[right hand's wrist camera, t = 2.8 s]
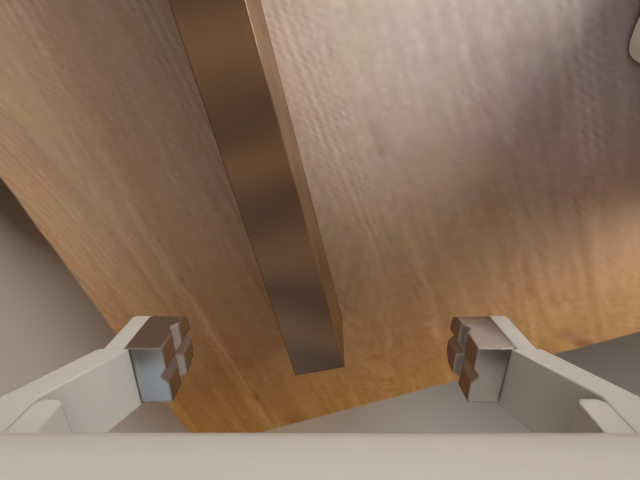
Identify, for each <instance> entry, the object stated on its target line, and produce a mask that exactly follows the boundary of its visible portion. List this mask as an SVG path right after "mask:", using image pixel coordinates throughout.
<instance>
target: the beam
mask: <svg viewBox="0 0 640 480" xmlns="http://www.w3.org/2000/svg"><path fill="white" fill-rule="evenodd" d="M169 3H170V6H171V9H172V12H173V15H174V18H175V21H176V24H177V27H178V30H179V33H180V36H181V39H182V42H183V45H184V48H185V51H186V54H187V56H188V59H189V62H190V65H191V68H192V71H193V74H194V77H195V80H196V83H197V86H198V89H199V92H200V95H201V98H202V101H203V104H204V107H205V110H206V113H207V115H208V118H209V121H210V124H211V127H212V130H213V133H214V136H215V139H216V142H217V145H218V148H219V151H220V154H221V157H222V160H223V163H224V166H225V169H226V171H227V174H228V177H229V180H230V183H231V186H232V189H233V192H234V195H235V198H236V201H237V204H238V207H239V210H240V213H241V216H242V219H243V222H244V225H245V228H246V230H247V233H248V236H249V239H250V242H251V245H252V248H253V251H254V254H255V257H256V260H257V263H258V266H259V269H260V272H261V275H262V278H263V281H264V284H265V287H266V289H267V292H268V295H269V298H270V301H271V304H272V307H273V310H274V313H275V316H276V319H277V322H278V325H279V328H280V331H281V334H282V337H283V340H284V343H285V346H286V348H287V351H288V354H289V357H290V360H291V363H292V366H293V369H294V372H295V375H300V374H306V373H312V372H318V371H324V370H329V369H335V368H341V367H344V366H345V364H344V346H343V328H342V316H341V312H340V308H339V304H338V300H337V296H336V293H335V289H334V285H333V281H332V277H331V273H330V269H329V265H328V261H327V258H326V254H325V250H324V246H323V242H322V238H321V234H320V230H319V226H318V223H317V219H316V215H315V211H314V207H313V203H312V199H311V195H310V191H309V188H308V184H307V180H306V176H305V172H304V168H303V164H302V160H301V156H300V153H299V149H298V145H297V141H296V137H295V133H294V129H293V125H292V121H291V118H290V114H289V110H288V106H287V102H286V98H285V94H284V90H283V86H282V83H281V79H280V75H279V71H278V67H277V63H276V59H275V55H274V51H273V48H272V44H271V40H270V36H269V32H268V28H267V24H266V20H265V16H264V13H263V9H262V5H261V1H260V0H169Z"/></svg>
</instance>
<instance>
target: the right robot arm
mask: <svg viewBox="0 0 640 480" xmlns="http://www.w3.org/2000/svg"><path fill="white" fill-rule="evenodd" d="M629 53H630V55H631V57H632V58H633V59H634V60H635V61H637V62H638V63H639V64H640V16H639V19H638V21H637V24H636V26H635V28H634V31H633V34H632V37H631V40H630V45H629ZM189 329H190V327H189V322H188V319H187V318H186V317H180V316H135V317H133V318H132V319H131V320H130V321H129V322H128V323H127V324H126V325H125V327H124V328H123V329H122V330H121V331H120V332H119V333H118V334H117V335H116V336H115V337H114V339H113V340H112V341H111V342H110V343H109V344H108V345H107V346H106V347H105V349H98V350H96V351H94V352H92V353H90V354H88V355H86V356H83V357H81V358H79V359H77V360H75V361H73V362H71V363H69V364H67V365H65V366H63V367H61V368H59V369H57V370H55V371H53V372H51V373H49V374H47V375H44V376H42V377H40V378H38V379H36V380H34V381H32V382H30V383H28V384H26V385H24V386H22V387H20V388H18V389H16V390H14V391H12V392H10V393H7V394H5V395H4V396H1V397H0V480H640V397H638V396H636V395H634V394H632V393H630V392H628V391H626V390H624V389H622V388H620V387H618V386H616V385H614V384H612V383H610V382H608V381H606V380H603V379H602V378H599V377H597V376H595V375H593V374H591V373H589V372H587V371H585V370H583V369H581V368H579V367H577V366H575V365H573V364H571V363H569V362H567V361H565V360H563V359H561V358H558V357H556V356H554V355H552V354H550V353H548V352H546V351H544V350H542V349H536V348H535V347H534V346H533V345H532V344H531V343H530V342H529V341H528V340H527V339H526V337H525V336H524V335H523V334H522V333H521V332H520V331H519V330H518V329H517V328H516V327H515V325H514V324H513V323H512V322H511V321H510V320H509V319H508V318H507V317H505V316H485V317H453V319H452V321H451V327H450V329H451V331H452V333H453V334H454V335H453V336H452V337H451V339H450V340H449V341H448V346H447V356H448V362H449V365H450V367H451V370H452V372H453V373H454V374H456V375H457V376H459V377H460V379H459V385H460V387H461V389H462V391H463V393H464V395H465V397H466V399H467V401H468V402H494V403H498V404H499V405H500V406H501V407H502V408H504V409H505V410H506V411H507V412H509V413H510V414H511V415H512V416H513V417H515V418H516V419H517V420H518V421H519V422H521V423H522V424H523V425H524V426H525V427H527V428H528V429H529V430H530V431H532V432H533V433H107V432H108V431H110V430H111V429H112V428H113V427H115V426H116V425H117V424H118V423H119V422H121V421H122V420H123V419H124V418H126V417H127V416H128V415H129V414H130V413H131V412H133V411H134V410H135V409H136V408H138V407H139V406H140V405H141V403H147V402H172V401H173V399H174V397H175V395H176V393H177V391H178V389H179V387H180V385H181V379H180V377H181V376H183V375H184V374H186V373H187V372H188V370H189V367H190V365H191V361H192V357H193V345H192V341H191V340H190V339H189V337H188V336H187V335H186V334H187V333H188V331H189Z"/></svg>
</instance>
